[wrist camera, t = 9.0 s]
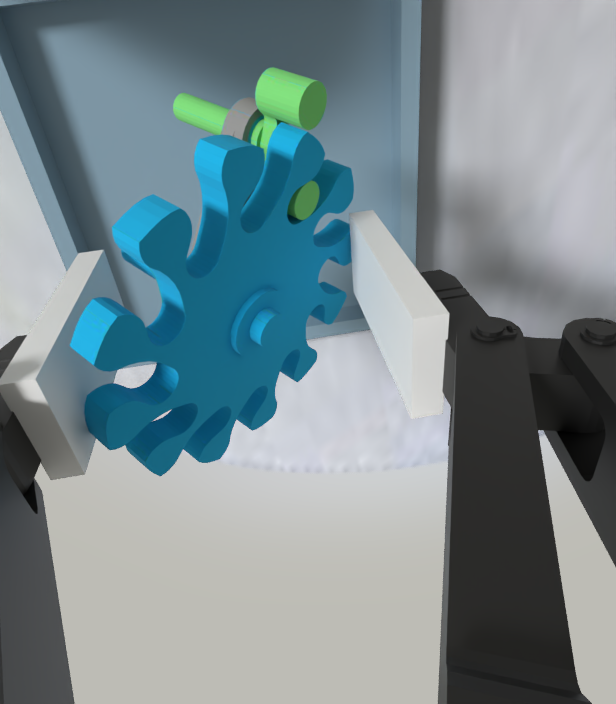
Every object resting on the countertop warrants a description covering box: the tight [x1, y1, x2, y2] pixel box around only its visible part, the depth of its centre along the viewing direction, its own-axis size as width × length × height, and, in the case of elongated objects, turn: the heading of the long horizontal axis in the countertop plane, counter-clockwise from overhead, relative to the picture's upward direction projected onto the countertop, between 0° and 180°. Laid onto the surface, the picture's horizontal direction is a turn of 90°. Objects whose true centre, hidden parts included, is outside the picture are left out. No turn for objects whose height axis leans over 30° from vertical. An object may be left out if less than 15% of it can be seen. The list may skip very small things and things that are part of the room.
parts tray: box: [0, 0, 422, 369], centre depth 24 cm, size 17×17×2 cm
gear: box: [70, 67, 354, 476], centre depth 15 cm, size 11×6×10 cm
